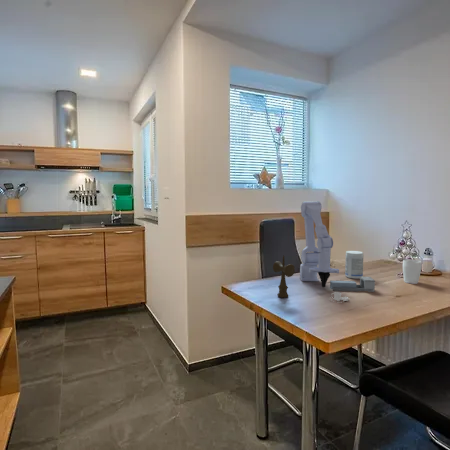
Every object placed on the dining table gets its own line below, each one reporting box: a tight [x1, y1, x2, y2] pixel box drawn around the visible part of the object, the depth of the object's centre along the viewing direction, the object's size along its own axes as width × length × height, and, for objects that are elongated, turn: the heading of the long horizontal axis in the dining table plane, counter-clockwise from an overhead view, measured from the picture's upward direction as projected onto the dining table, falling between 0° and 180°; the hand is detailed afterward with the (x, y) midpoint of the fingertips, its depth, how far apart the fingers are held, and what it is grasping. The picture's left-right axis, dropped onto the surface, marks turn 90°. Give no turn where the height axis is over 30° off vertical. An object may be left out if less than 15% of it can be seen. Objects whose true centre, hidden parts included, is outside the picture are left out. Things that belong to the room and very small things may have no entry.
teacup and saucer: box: [330, 291, 350, 302], centre depth 144 cm, size 9×8×4 cm
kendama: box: [272, 255, 296, 299], centre depth 148 cm, size 6×10×20 cm, turn 33°
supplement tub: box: [344, 250, 364, 280], centre depth 183 cm, size 10×10×15 cm
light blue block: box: [329, 280, 357, 290], centre depth 161 cm, size 12×4×4 cm, turn 84°
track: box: [332, 276, 376, 293], centre depth 161 cm, size 20×7×6 cm, turn 84°
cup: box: [402, 258, 423, 285], centre depth 172 cm, size 9×9×12 cm
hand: (323, 286), depth 162 cm, fingers closed
